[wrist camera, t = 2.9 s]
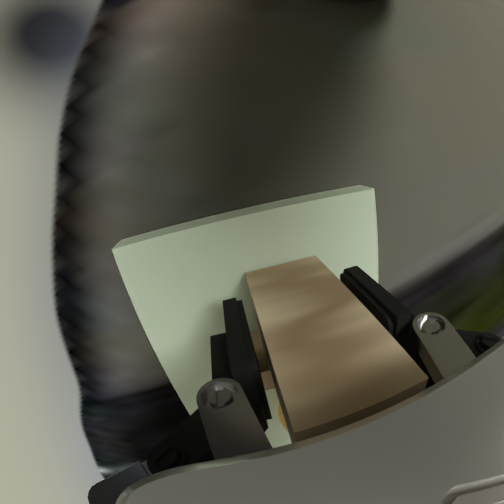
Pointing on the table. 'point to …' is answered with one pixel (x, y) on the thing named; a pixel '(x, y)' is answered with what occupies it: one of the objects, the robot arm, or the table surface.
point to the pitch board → (236, 273)
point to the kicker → (324, 350)
